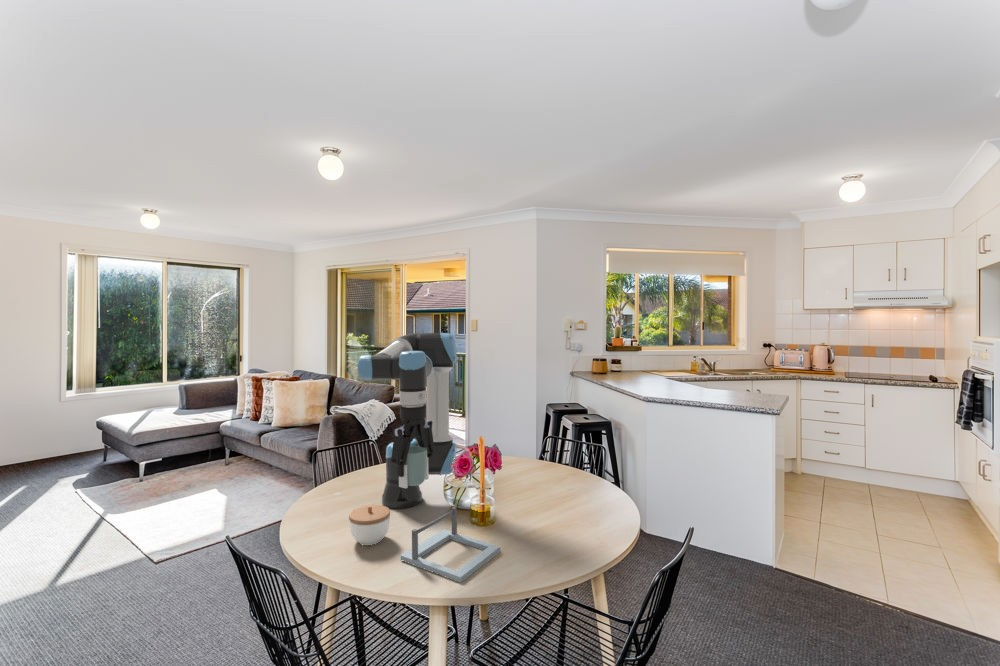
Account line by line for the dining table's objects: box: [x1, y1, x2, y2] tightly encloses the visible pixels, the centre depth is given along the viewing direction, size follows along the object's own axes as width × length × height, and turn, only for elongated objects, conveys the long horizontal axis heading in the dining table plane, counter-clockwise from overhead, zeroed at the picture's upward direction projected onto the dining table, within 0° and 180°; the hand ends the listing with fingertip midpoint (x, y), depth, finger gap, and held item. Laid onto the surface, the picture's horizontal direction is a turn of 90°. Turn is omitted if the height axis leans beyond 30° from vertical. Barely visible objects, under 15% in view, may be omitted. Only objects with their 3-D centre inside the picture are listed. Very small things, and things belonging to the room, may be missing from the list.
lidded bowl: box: [348, 504, 391, 546], centre depth 154 cm, size 13×13×11 cm
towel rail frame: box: [399, 506, 501, 583], centre depth 144 cm, size 22×20×10 cm
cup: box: [401, 446, 427, 486], centre depth 140 cm, size 8×8×10 cm
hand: (414, 482), depth 140 cm, fingers closed on cup, 8 cm apart
